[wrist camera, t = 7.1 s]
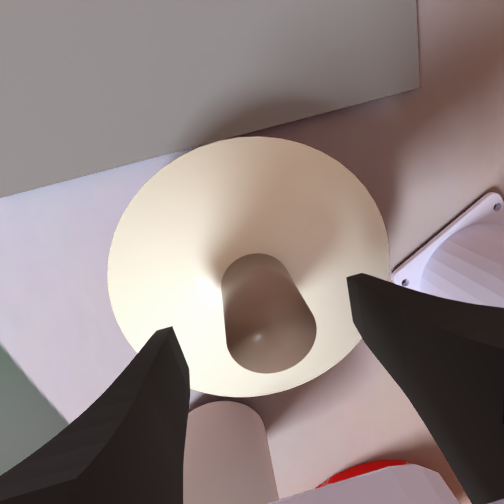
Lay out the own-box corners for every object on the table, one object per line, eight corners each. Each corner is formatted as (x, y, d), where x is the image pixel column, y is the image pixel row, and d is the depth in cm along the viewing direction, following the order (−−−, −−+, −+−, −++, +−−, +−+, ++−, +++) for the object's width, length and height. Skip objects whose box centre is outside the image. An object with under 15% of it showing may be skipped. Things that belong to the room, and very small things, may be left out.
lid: (427, 274, 17) (506, 325, 13) (247, 423, 19) (260, 513, 14) (262, 63, 13) (292, 25, 8) (50, 282, 15) (-20, 349, 10)
